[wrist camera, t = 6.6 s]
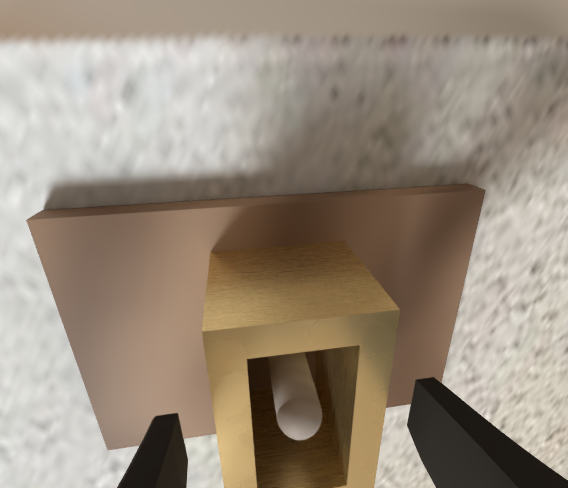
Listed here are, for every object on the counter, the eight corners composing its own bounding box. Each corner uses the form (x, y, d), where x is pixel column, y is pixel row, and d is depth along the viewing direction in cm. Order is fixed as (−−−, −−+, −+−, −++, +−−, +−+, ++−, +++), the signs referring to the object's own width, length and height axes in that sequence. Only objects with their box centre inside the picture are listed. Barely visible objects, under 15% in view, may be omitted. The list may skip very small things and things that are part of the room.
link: (210, 251, 12) (201, 331, 8) (344, 241, 13) (400, 309, 9) (229, 410, 15) (229, 524, 11) (335, 395, 16) (372, 498, 12)
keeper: (468, 183, 14) (614, 237, 8) (426, 384, 18) (506, 499, 13) (42, 210, 12) (-108, 302, 6) (114, 430, 16) (61, 588, 11)
